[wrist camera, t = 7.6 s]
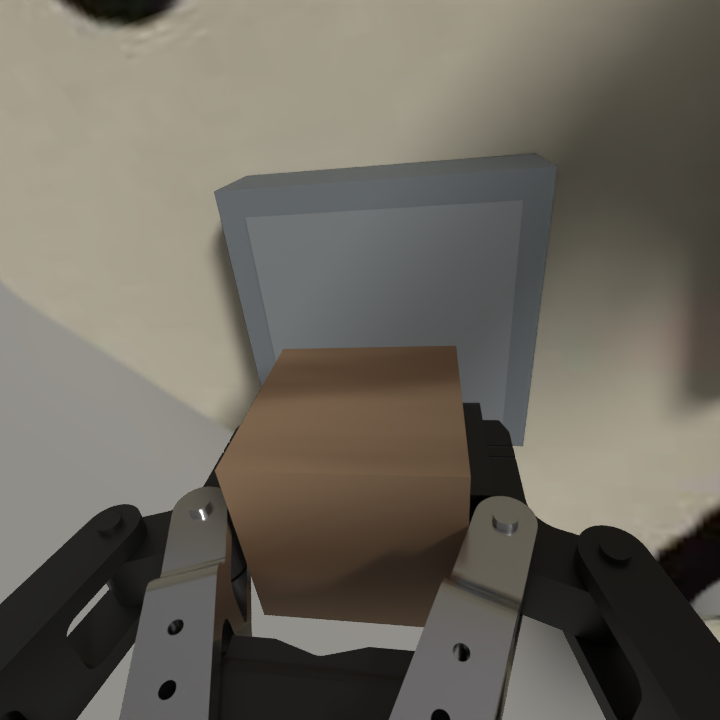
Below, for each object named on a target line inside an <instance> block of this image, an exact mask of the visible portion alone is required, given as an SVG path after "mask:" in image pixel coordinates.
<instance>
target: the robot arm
mask: <svg viewBox="0 0 720 720" xmlns="http://www.w3.org/2000/svg"><path fill="white" fill-rule="evenodd" d="M463 412H464V421H465V430H466V439H467V447H468V456H469V465H470V474H471V485H470V509H469V528H468V531H467V533H466V536H465V539H464V541H463V544H462V547H461V549H460V552H459V555H458V558H457V560H456V563H455V566H454V568H453V571H452V573H451V575H450V577H445V578H444V579H443V581H442V583H441V585H440V588H439V590H438V593H437V596H436V598H435V601H434V603H433V606H432V609H431V611H430V614H429V616H428V619H427V622H426V624H425V627H424V629H423V632H422V635H421V637H420V640H419V642H418V645H417V648H416V650H415V651H407V650H396V649H395V650H394V649H384V648H373V647H367V648H363V649H357V650H352V651H347V652H341V653H336V654H331V655H325V656H316V655H313V654H311V653H308V652H306V651H304V650H301V649H299V648H296V647H294V646H292V645H289V644H287V643H284V642H282V641H279V640H277V639H271V638H259V637H252V628H251V574H250V571H249V568H248V565H247V562H246V560H245V557H244V554H243V551H242V548H241V545H240V542H239V539H238V536H237V533H236V531H235V528H234V525H233V522H232V519H231V516H230V513H229V510H228V507H227V504H226V502H225V499H224V496H223V493H222V490H221V487H220V484H219V481H218V478H217V476H216V473H215V469H216V468H217V466H218V464H219V462H220V460H221V459H222V457H223V455H224V453H225V452H226V450H227V448H228V446H229V445H230V443H231V441H232V439H233V437H234V436H235V434H236V432H237V430H238V429H239V427H240V426H239V427H238V428H236V430H235V432H234V434H233V435H232V437H231V439H230V443H228V444H227V446H226V448H225V450H224V453H222V455H221V457H220V458H219V460H218V462H217V464H216V465H215V467H214V469H213V471H212V473H211V474H210V476H209V478H208V480H207V481H206V483H205V485H204V486H203V487H202V488H198V489H195V490H193V491H191V492H189V493H188V494H186V495H185V496H183V497H182V498H181V499H180V500H179V501H178V502H177V504H176V505H175V507H174V509H173V510H172V511H168V512H164V513H159V514H155V515H150V516H146V517H142V516H141V514H140V511H139V510H138V508H136V507H135V506H133V505H128V504H123V505H117V506H113V507H110V508H108V509H106V510H104V511H102V512H100V513H99V514H97V515H96V516H94V517H93V518H92V519H91V520H90V521H89V522H88V523H87V524H85V526H84V527H82V528H81V529H80V530H79V531H78V532H77V533H76V534H75V535H74V536H73V537H72V538H71V539H69V540H68V541H67V542H66V543H65V544H64V545H63V546H62V547H61V548H60V549H59V550H58V551H57V552H56V553H55V554H53V555H52V556H51V557H50V558H49V559H48V560H47V561H46V562H45V563H44V564H43V565H42V566H41V567H40V568H38V569H37V570H36V571H35V572H34V573H33V574H32V575H31V576H30V577H29V578H28V579H27V580H26V581H25V582H24V583H22V584H21V585H20V586H19V587H18V588H17V589H16V590H15V591H14V592H13V593H12V594H11V595H10V596H9V597H7V598H6V599H5V600H4V601H3V602H2V603H1V604H0V720H76V719H77V718H78V716H79V715H80V714H81V713H82V711H83V710H84V708H85V707H86V706H87V705H88V703H89V702H90V701H91V700H92V698H93V697H94V696H95V694H96V693H97V692H98V690H99V689H100V688H101V686H102V685H103V684H104V682H105V681H106V679H107V678H108V677H109V676H110V674H111V673H112V672H113V670H114V669H115V668H116V667H117V665H118V664H119V663H120V661H121V660H122V659H123V657H124V656H125V655H126V653H127V652H128V651H129V649H130V648H131V647H132V645H133V644H134V643H135V646H134V650H133V655H132V660H131V665H130V669H129V675H128V679H127V685H126V689H125V694H124V699H123V703H122V709H121V713H120V718H119V720H502V716H503V711H504V706H505V701H506V696H507V690H508V685H509V680H510V675H511V670H512V665H513V661H514V655H515V651H516V646H517V642H518V637H519V632H520V628H521V622H522V618H523V615H525V616H527V617H530V618H532V619H535V620H538V621H540V622H543V623H545V624H548V625H550V626H553V627H555V628H558V629H560V630H563V632H564V635H565V637H566V639H567V641H568V643H569V645H570V647H571V649H572V651H573V653H574V655H575V657H576V659H577V661H578V663H579V665H580V667H581V669H582V671H583V673H584V675H585V677H586V679H587V682H588V684H589V686H590V688H591V690H592V692H593V694H594V696H595V698H596V700H597V702H598V704H599V706H600V708H601V710H602V712H603V714H604V716H605V718H606V720H720V643H719V641H718V640H717V639H716V638H715V636H714V635H713V634H712V632H711V631H710V630H709V628H708V627H707V626H706V625H705V623H704V622H703V621H702V619H701V618H700V617H699V616H698V614H697V613H696V612H695V610H694V609H693V608H692V606H691V605H690V604H689V603H688V601H687V600H686V599H685V597H684V596H683V595H682V593H681V592H680V591H679V590H678V588H677V587H676V586H675V584H674V583H673V582H672V581H671V579H670V578H669V577H668V575H667V574H666V573H665V571H664V570H663V569H662V568H661V566H660V565H659V564H658V562H657V561H656V560H655V559H654V557H653V556H652V555H651V553H650V552H649V551H648V549H647V548H646V547H645V546H644V545H643V544H642V543H641V542H640V541H639V540H638V539H637V538H635V537H634V536H633V535H631V534H629V533H627V532H626V531H623V530H621V529H618V528H615V527H611V526H603V525H600V526H593V527H589V528H587V529H585V530H584V531H583V532H582V533H581V534H580V535H576V534H573V533H570V532H566V531H563V530H560V529H557V528H554V527H552V526H550V525H548V524H546V523H544V522H543V521H541V520H540V519H539V518H537V517H536V516H535V514H534V513H533V511H532V510H531V509H530V508H529V507H528V505H527V503H526V500H525V496H524V491H523V487H522V483H521V479H520V475H519V470H518V466H517V462H516V459H515V454H514V450H513V447H512V446H513V445H512V441H511V437H510V433H509V431H508V430H507V429H506V428H505V426H504V425H503V424H502V423H501V422H500V421H499V420H483V419H482V413H481V407H480V403H463ZM105 584H107V585H108V587H109V590H108V591H107V593H106V594H105V595H104V596H103V597H102V598H101V599H100V600H99V602H98V603H97V604H96V605H95V606H94V607H93V608H92V609H91V611H90V612H89V613H88V614H87V615H86V616H85V617H84V618H83V620H82V621H81V622H80V623H79V624H78V625H77V626H76V628H75V629H74V630H73V631H72V632H71V633H70V634H69V635H68V637H67V631H68V628H69V626H70V624H71V622H72V621H73V619H74V618H75V617H76V616H77V615H78V614H79V612H80V611H81V610H82V609H83V608H84V607H85V606H86V605H87V604H88V602H89V601H90V600H91V599H92V598H93V597H94V596H95V595H96V594H97V593H98V591H99V590H100V589H101V588H102V587H103V586H104V585H105Z"/></svg>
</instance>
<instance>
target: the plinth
mask: <svg viewBox="0 0 720 720" xmlns="http://www.w3.org/2000/svg"><path fill="white" fill-rule="evenodd" d="M557 167H558V166H556V165H555V164H553V163H551V162H550V161H548V160H546V159H545V158H543V157H541V156H540V155H538V154H536V153H534V154H521V155H508V156H495V157H483V158H470V159H457V160H444V161H431V162H419V163H406V164H393V165H380V166H368V167H355V168H342V169H329V170H316V171H304V172H291V173H278V174H265V175H253V176H246V177H243V178H241V179H239V180H237V181H235V182H233V183H231V184H229V185H227V186H225V187H222V188H220V189H218V190H216V191H214V194H215V198H216V202H217V206H218V210H219V214H220V219H221V223H222V227H223V231H224V235H225V239H226V243H227V248H228V252H229V256H230V260H231V264H232V268H233V272H234V276H235V281H236V285H237V289H238V293H239V297H240V301H241V305H242V310H243V314H244V318H245V322H246V326H247V330H248V334H249V339H250V343H251V347H252V351H253V355H254V359H255V363H256V368H257V372H258V376H259V380H260V384H261V388H262V386H263V384H264V382H265V381H266V379H267V377H268V375H269V373H270V372H271V370H272V368H273V366H274V365H275V363H276V361H277V359H278V357H279V356H280V354H281V352H282V350H283V349H311V348H362V347H413V346H456V349H457V358H458V367H459V376H460V385H461V394H462V403H480V407H481V413H482V419H483V420H499V421H500V422H501V423H502V424H503V425H504V426H505V428H506V429H507V430H508V431H509V433H510V437H511V441H512V445H513V446H523V441H524V433H525V425H526V417H527V409H528V401H529V393H530V385H531V377H532V369H533V361H534V353H535V345H536V336H537V328H538V320H539V312H540V304H541V296H542V288H543V280H544V272H545V264H546V256H547V248H548V240H549V231H550V223H551V215H552V207H553V199H554V191H555V183H556V175H557Z"/></svg>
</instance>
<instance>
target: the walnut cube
mask: <svg viewBox="0 0 720 720" xmlns="http://www.w3.org/2000/svg"><path fill="white" fill-rule="evenodd" d="M215 473H216V476H217V478H218V481H219V484H220V487H221V490H222V493H223V496H224V499H225V502H226V504H227V507H228V510H229V513H230V516H231V519H232V522H233V525H234V528H235V531H236V533H237V536H238V539H239V542H240V545H241V548H242V551H243V554H244V557H245V560H246V562H247V565H248V568H249V571H250V574H251V577H252V580H253V583H254V585H255V588H256V591H257V594H258V597H259V600H260V603H261V606H262V609H263V612H264V615H275V616H289V617H302V618H315V619H326V620H340V621H352V622H365V623H378V624H391V625H404V626H416V627H425V624H426V622H427V619H428V616H429V614H430V611H431V609H432V606H433V603H434V601H435V598H436V596H437V593H438V590H439V588H440V585H441V583H442V581H443V579H444V578H445V577H450V575H451V573H452V571H453V568H454V566H455V563H456V560H457V558H458V555H459V552H460V549H461V547H462V544H463V541H464V539H465V536H466V533H467V531H468V528H469V509H470V485H471V474H470V465H469V456H468V447H467V439H466V430H465V421H464V412H463V403H462V394H461V385H460V376H459V367H458V358H457V349H456V346H413V347H362V348H311V349H283V350H282V352H281V354H280V356H279V357H278V359H277V361H276V363H275V365H274V366H273V368H272V370H271V372H270V373H269V375H268V377H267V379H266V381H265V382H264V384H263V386H262V388H261V389H260V391H259V393H258V395H257V397H256V398H255V400H254V402H253V404H252V405H251V407H250V409H249V411H248V413H247V414H246V416H245V418H244V420H243V421H242V423H241V425H240V427H239V429H238V430H237V432H236V434H235V436H234V437H233V439H232V441H231V443H230V445H229V446H228V448H227V450H226V452H225V453H224V455H223V457H222V459H221V460H220V462H219V464H218V466H217V468H216V469H215Z"/></svg>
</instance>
